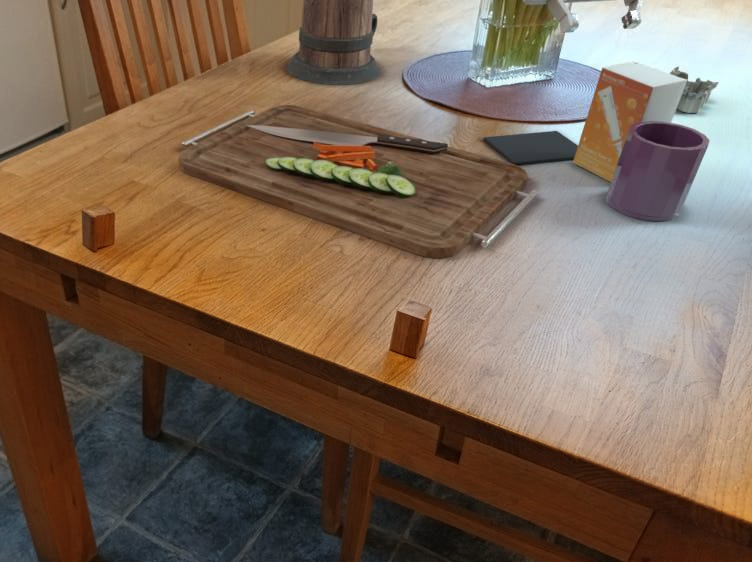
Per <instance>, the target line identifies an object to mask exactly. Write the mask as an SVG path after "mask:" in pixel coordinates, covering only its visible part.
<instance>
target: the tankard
mask: <svg viewBox="0 0 752 562" xmlns="http://www.w3.org/2000/svg"><path fill="white" fill-rule="evenodd" d="M373 10H374V0H303V2H302V13H301V14H302V15H301V17H302V18H301V26H300V27H299V31H298V42H299V47H298V49H299V50H298V51H296V52H295V54H294V55H293V56H292V59H291V60H290V61H289V62H288V63H287V65H286V71H287V72H288V73H289V75H290V76H293V77H295V78H297V79H299V80H303V81H305V82H311V83H316V84H321V85H337V86H339V85H340V86H342V85H357V84H362V83H367V82H370V81H373V80H374V79H377V78H378V77H379V76H380V75H381V68H380V67H379V66H378V65H377V63H376V59H375V57H374V56H373V55H372V54H371V48H372V44H373V38H374V36H375V34H376V31H377V28H378V19H379V18H378V15H377V14H376V13H374V11H373Z"/></svg>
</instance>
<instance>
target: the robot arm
mask: <svg viewBox="0 0 752 562" xmlns="http://www.w3.org/2000/svg"><path fill="white" fill-rule="evenodd" d="M521 1H522V2H523V3H524V4H525V5H526V6H537V5H547V8H548V12H549V13H550V14H551V15H552V16H553V18H555V20H556V21H557V22H559V26H560V31H561V32H560V33H561V34H562V33H563V34H565V33H566V34H567V33H574V32H575V31H576V30H577V29H578V28H579V27H580V22H579V20H578V18H579V17H578V13H572V12H571V11H570V9H569V7H568V6H567V4H572V3H574V4H575V3H576V4H577V3H593V2H595V3H596V2H611V1H615V0H521ZM643 2H644V0H623V3H624V6H625V7H628V9H627V12H626V14H624V15H623V16H622V17H620V19H621V23H622V28H623V29H624V30H631V29H632V30H633V29H636V28H637V27H638V26H640V25H641V23H642V15H641V8H642V6H643Z"/></svg>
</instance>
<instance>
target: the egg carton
mask: <svg viewBox="0 0 752 562" xmlns="http://www.w3.org/2000/svg"><path fill="white" fill-rule="evenodd" d="M679 69H680V66H676V67H674V68H673V69H672V70H671V71H670V72H669V74H671V75H674V76H677V77H680V78H683V79H686V80H687V83H686V85H685V88H684V90H683V93H682V95H681V98H680V100H679V103H678V106H677V108H676V110H677V111H681V112H684V113H687V114H699V112H700V110H701V108H703V107H704V105H705V103H707V102H708V101H709V99H710V96H711V95H712V91H713V90H714V89H716V88H717V86H718V85H719V81H712V80H709V79H707V80H706V81H704V80H702V79H701V77H696V78H695V81H691V80H689V73H688V72H685V71H681V70H679Z"/></svg>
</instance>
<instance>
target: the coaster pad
mask: <svg viewBox="0 0 752 562" xmlns="http://www.w3.org/2000/svg"><path fill="white" fill-rule="evenodd" d="M483 141H484V142H485V143H486V144H488V145H489V146H490V147H491V148H492V149H494V150H495V151H496V152H498V154H500V155H501V156H502V157H504V159H506V160H507V161H509V163H511V164H514V165H517V166H521V165H522V166H523V165H531V164H541V163H551V162H561V161H572V160H574V157H575V154H576V151H577V148H578V144H576V142H574V141H572V140H571V139H569V138H568V137H566V136H565V135H563V133H561V132H559V131H558V130H551V131H549V130H548V131H541V132H540V131H539V132H527V133H517V134H505V135H496V136H495V135H494V136H484V137H483Z"/></svg>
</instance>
